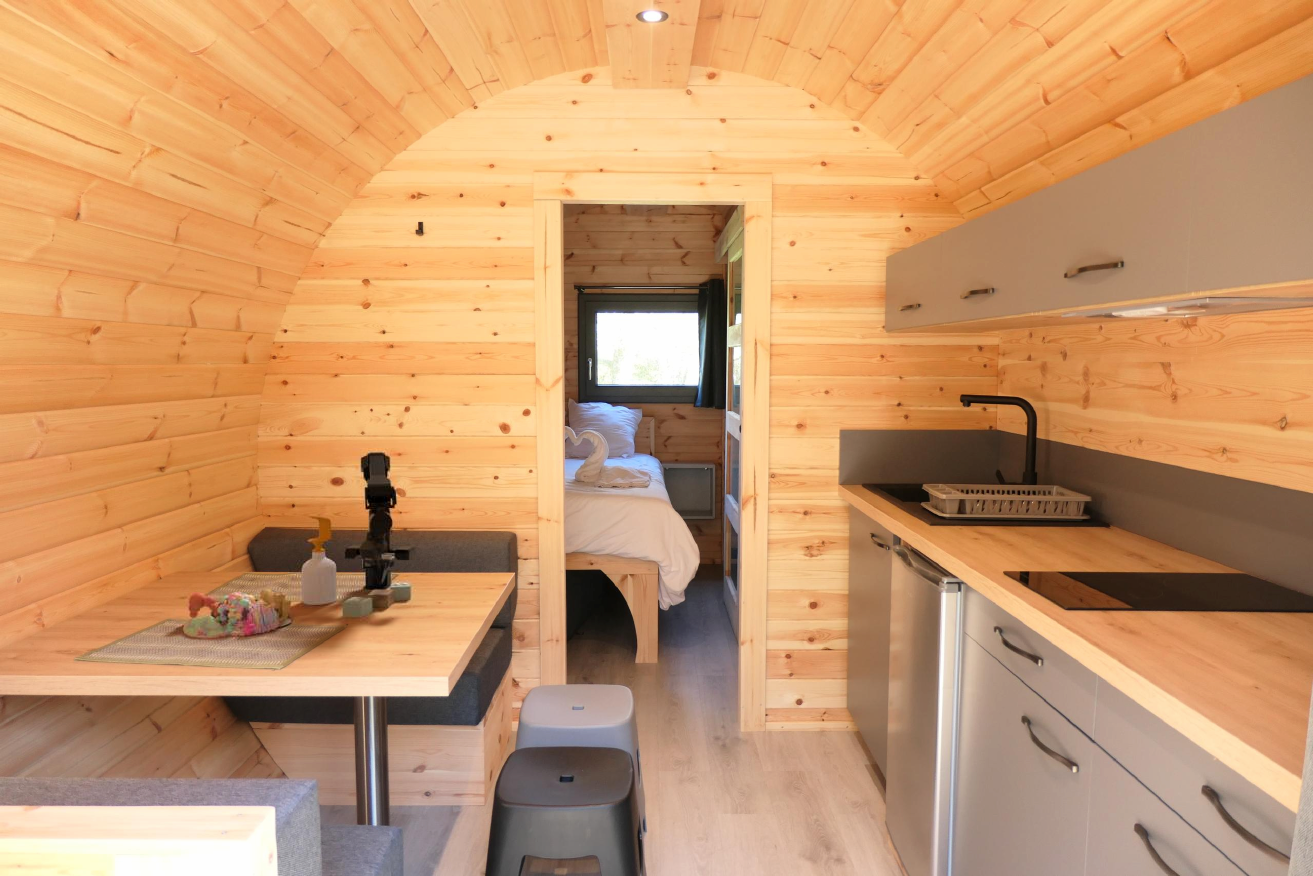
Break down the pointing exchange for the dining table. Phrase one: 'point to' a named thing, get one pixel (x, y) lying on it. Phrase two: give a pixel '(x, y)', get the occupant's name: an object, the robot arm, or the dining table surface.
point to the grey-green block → (357, 607)
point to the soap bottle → (319, 570)
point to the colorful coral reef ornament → (237, 614)
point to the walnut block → (382, 598)
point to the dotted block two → (401, 590)
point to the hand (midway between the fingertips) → (380, 583)
